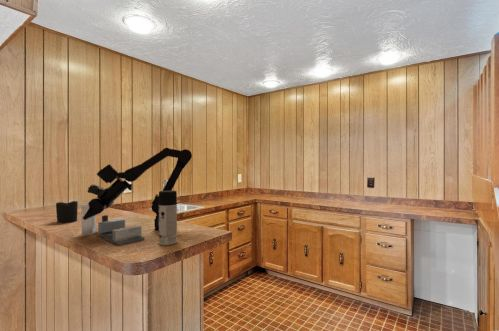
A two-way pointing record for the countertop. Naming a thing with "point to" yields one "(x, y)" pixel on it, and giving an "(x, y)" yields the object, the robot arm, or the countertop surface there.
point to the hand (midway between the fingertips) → (87, 216)
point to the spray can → (167, 217)
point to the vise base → (110, 238)
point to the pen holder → (66, 212)
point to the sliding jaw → (110, 224)
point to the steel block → (87, 221)
